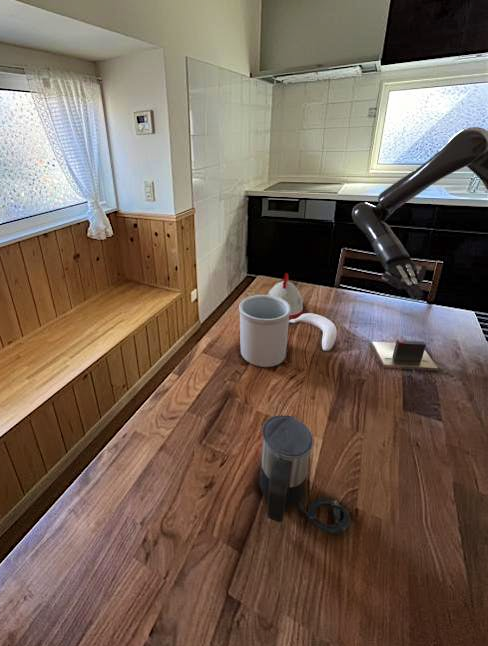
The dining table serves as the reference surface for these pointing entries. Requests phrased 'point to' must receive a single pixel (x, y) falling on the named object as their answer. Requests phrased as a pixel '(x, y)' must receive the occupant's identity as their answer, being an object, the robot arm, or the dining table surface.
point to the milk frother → (292, 473)
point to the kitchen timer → (289, 296)
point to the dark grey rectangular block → (409, 350)
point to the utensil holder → (264, 329)
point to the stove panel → (386, 358)
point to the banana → (323, 324)
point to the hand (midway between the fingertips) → (418, 298)
